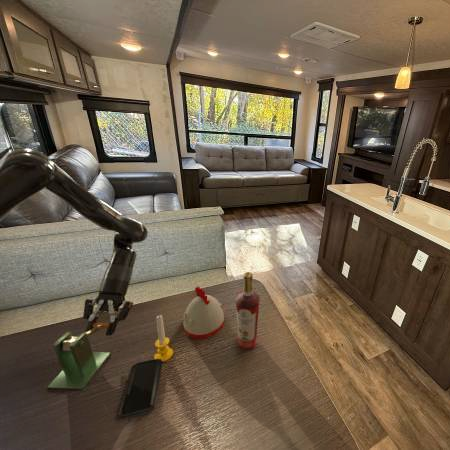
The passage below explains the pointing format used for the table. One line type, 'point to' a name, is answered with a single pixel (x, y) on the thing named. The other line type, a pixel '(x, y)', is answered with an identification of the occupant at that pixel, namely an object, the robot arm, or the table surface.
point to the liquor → (247, 314)
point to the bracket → (76, 363)
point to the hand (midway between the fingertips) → (99, 334)
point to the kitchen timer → (203, 316)
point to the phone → (141, 389)
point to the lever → (95, 327)
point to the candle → (162, 342)
